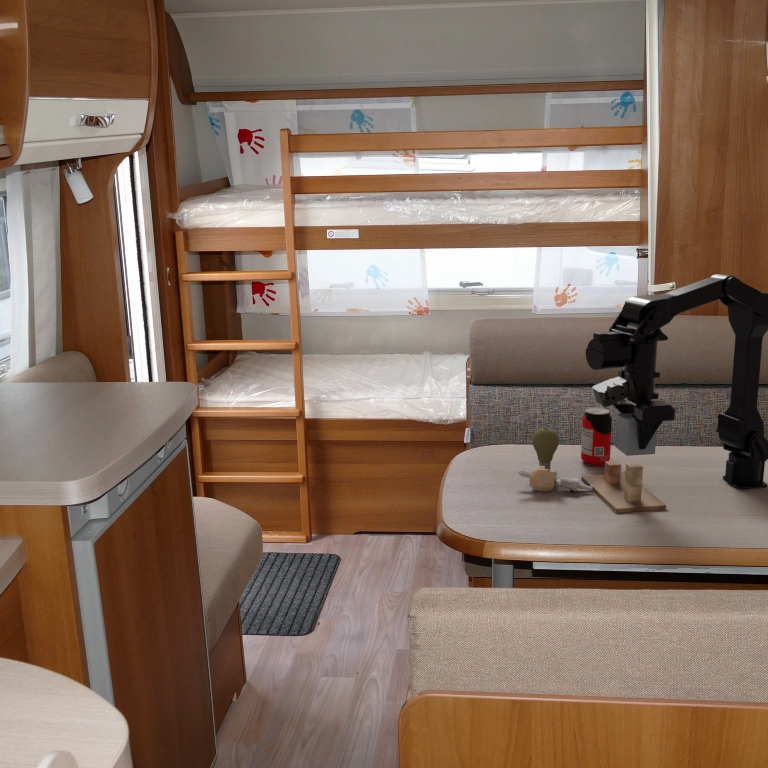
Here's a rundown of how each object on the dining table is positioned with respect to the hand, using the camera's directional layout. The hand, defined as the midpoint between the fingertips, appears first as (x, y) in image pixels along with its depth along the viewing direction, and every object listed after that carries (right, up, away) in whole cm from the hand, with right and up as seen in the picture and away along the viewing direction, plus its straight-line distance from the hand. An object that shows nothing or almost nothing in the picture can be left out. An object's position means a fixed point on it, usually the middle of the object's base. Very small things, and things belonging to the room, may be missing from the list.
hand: (635, 444), depth 162 cm
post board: (-1, -10, +8) cm, 13 cm away
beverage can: (-1, -6, +26) cm, 27 cm away
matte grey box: (0, -1, 0) cm, 1 cm away
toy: (-14, -10, +10) cm, 20 cm away
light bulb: (-13, -8, +21) cm, 26 cm away
